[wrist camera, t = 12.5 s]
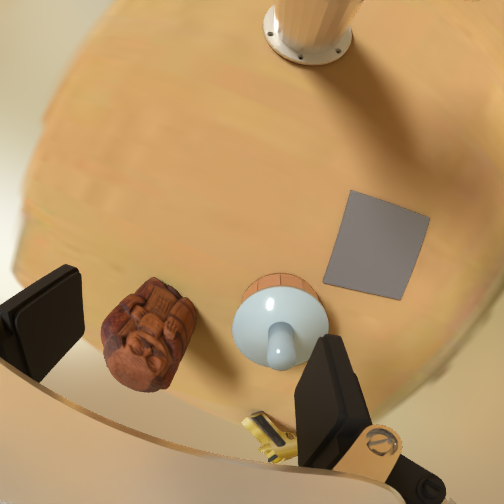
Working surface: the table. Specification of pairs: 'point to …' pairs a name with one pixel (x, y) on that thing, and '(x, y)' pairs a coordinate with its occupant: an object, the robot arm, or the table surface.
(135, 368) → the wooden figurine
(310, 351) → the lid
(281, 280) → the bowl
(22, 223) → the table surface
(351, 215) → the mat
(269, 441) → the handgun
